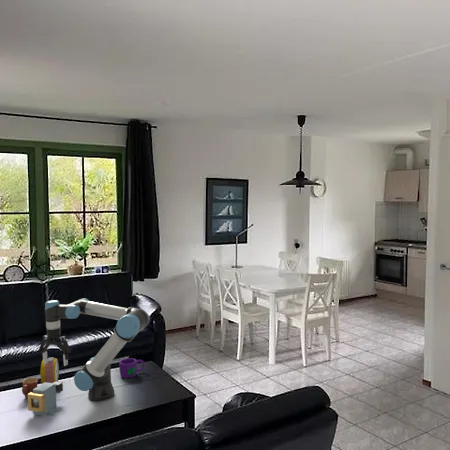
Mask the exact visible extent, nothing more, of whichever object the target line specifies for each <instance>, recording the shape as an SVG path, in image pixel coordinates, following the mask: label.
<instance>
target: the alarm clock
mask: <svg viewBox="0 0 450 450" xmlns="http://www.w3.org/2000/svg"><path fill="white" fill-rule="evenodd" d="M47 361H48V363H46V364H43V359H42V361H41V362H40V363H41V364H40V372H39V373H40V385H41V384H43V383H45V382H46V383H54V382H59V376H60V375H59V374H60V366H59V365H60V364H59V360H58V358H55V357H47Z"/></svg>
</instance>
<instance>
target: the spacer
mask: <svg viewBox="0 0 450 450" xmlns="http://www.w3.org/2000/svg"><path fill="white" fill-rule="evenodd" d="M33 399H39V406H36V405H34V403H33ZM27 410H28V411H29V412H33V411H36V412H44V411H45V410H46V408H45V394H40V393H32V392H30V393H29V394H28V399H27Z"/></svg>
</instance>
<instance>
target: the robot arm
mask: <svg viewBox="0 0 450 450" xmlns="http://www.w3.org/2000/svg"><path fill="white" fill-rule="evenodd" d="M44 307H45V308H44V312H45V327H46V334H45V335H43V336H42V340H41V343H40V346H39V348H38V350H37V351H38V352H41V353H40V354H41V357H42V360H43V364H46V363H48V361H47V359H48V352H47V350H48V348H49V347H50V346H51V345H56V346H58V347H59V349H60V350H61V351H62V353H63V355H62V358H63V367H66V366H67V365H69V361H68V360H69V357H70V356H69V354H70V353H72V348H71V347H70V345H69V342H68V340H67V337H66V335H63V336H62V335H61V334H62V332H61V331H62V329H61V319H71V320H72V319H77V318H78V317H79V316H80V314H83V315H88V316H89V315H90V316H95V317H101V318H106V319H111V320H114V321H115V320H116V322H117V323H116V325H115V327H114V328H113V334H112V335H111V336H110V337H109V338H108V339H107V341H106V343H104V345H103V346H102V347H101V348H100V350H99V351H98V352H97V354H96V355H95V356H93V357H91V358H89V360H88V361H87V362H86V363H85V364H84V365H83V367H82V368H81V369H80V370H78V371H77V372H76V373H75V374H74V377H73V381H74V385H75V387H76V388H77V389H78V390H80V391H82V392H87V393H88V394H87V398H88V399H89V400H90V401H91V402H92V401H93V402H104V401H108V400H111V399H112V398H113V397H114V396H115V395H116V394H115V389H114V386H113V383H112V375H111V372H112V371H111V370H112V368H111V367H112V366H111V364H112V363H111V362H112V361H113V360H114V359H115V357H116V356H117V355H118V354H119V353H120V351H121V350H122V349H123V348H124V346H125V345H126V344H127V343H130V342H132V341H133V339H134V338H135V337H136V336H137V335H138V333H139V332H141V331H143V329H145V328H146V327H147V326H148V324H149V319H150V318H149V315H148V313H147V312H146V311H145V310H144V309H142V308H139V307H132V306H129V307H128V308H127V307H122V306H117V305H111V304H105V303H101V302H100V303H99V302H95V301H90V300H89V299H88V298H79V299H78V300H75V301H73V302H71V303H67V304H60V301H59V300H57V299H56V300H54V299H52V300H48V301H46V302H45V305H44ZM47 340H48V341H47Z"/></svg>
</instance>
